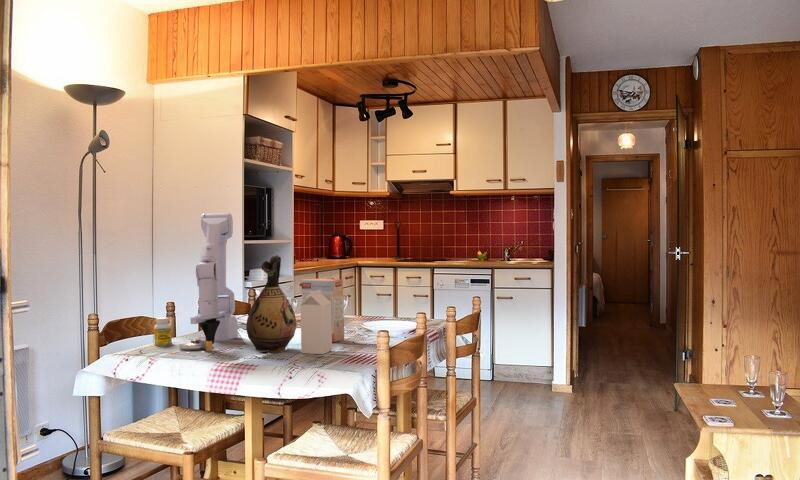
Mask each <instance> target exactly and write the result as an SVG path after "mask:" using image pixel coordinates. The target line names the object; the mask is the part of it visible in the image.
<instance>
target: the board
mask: <svg viewBox="0 0 800 480" xmlns="http://www.w3.org/2000/svg"><path fill="white" fill-rule="evenodd" d="M240 346H241V344H235V343H223V342H216V341H214V344H212V351H204V350H194V351H185V350H180V349H179V344H176V345H171V346H166V347H161V348H157V349H153V350H150V352H153V353H159V354H160V353H161V354H168V355H169V354H170V355H172V354H173V355H178V356H179V355H181V356H188V357H199V356H202V355H206V354H211V353H215V352H218V351H223V350H227V349H230V348H231V349H232V348H235V347H240Z"/></svg>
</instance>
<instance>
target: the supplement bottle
mask: <svg viewBox="0 0 800 480" xmlns="http://www.w3.org/2000/svg"><path fill="white" fill-rule="evenodd" d="M169 320H170V319H169V317H156V318H155V325H154V327H153V334H154V335H153V336H154V337H153V338H154V346H159V347H160V346H169V345H172V344H173V343H172V326H171V323H169V322H170V321H169Z"/></svg>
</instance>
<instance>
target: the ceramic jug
mask: <svg viewBox="0 0 800 480" xmlns="http://www.w3.org/2000/svg"><path fill="white" fill-rule="evenodd" d="M281 261H282V258H281V256H279V255H273V256H271V257H270V259H269V260H266V261H263V263H262V264H261V270H262V271H263V272H264V273H265V274H267V277H266V278H267V282H266V283H265V285H264V287H263V289H261V292H260V293H259V294H258V296H257V297H256V299H255V301H254V302H253V303H252V306H251V307H250V309H249V312H248V315H247V319H246V325H245V327H246V334H247V337H248V340H249V341H250V342H251V343H252V345H253V346H254V347H255V349H256V350H257V351H262V352H260V354H276V353H277V354H279V353H282V352H284V351H285V350H286V348H287V347H288V344H289V343H290V342H291V340H292V339H293V338H294V336H295V333H296V330H297V320H296V314H295V311H294V307H292V303H291V302H290V301H289V299H288V298H287V296H286V294H285V293H284V291H283V290H282V288H281V285H279V278H280V273H281V272H280V271H281V263H282V262H281Z"/></svg>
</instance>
